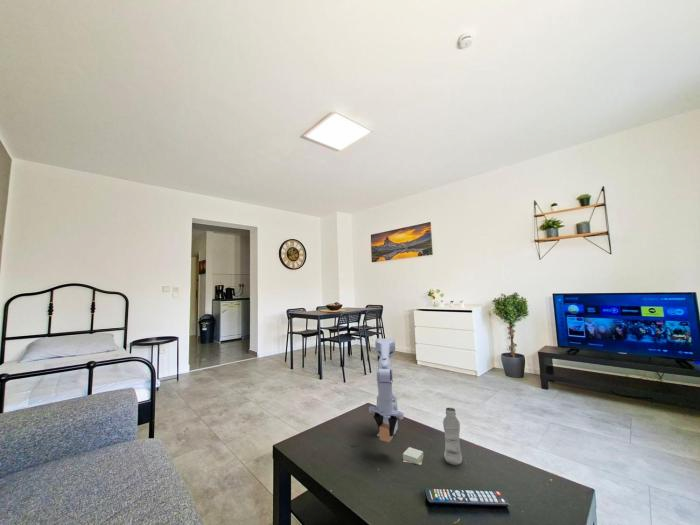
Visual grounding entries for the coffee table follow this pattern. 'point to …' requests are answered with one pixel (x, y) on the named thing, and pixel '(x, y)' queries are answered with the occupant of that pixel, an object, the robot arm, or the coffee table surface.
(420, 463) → the bottom slab
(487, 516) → the coffee table surface
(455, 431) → the plastic bottle
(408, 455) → the top slab
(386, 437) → the block
